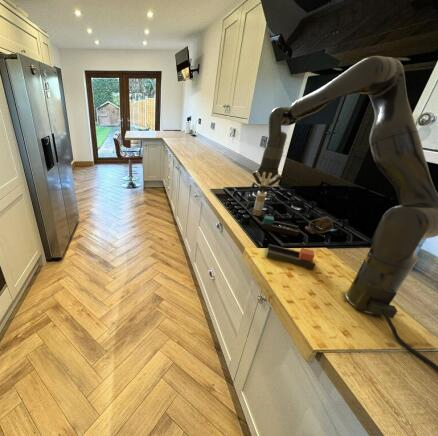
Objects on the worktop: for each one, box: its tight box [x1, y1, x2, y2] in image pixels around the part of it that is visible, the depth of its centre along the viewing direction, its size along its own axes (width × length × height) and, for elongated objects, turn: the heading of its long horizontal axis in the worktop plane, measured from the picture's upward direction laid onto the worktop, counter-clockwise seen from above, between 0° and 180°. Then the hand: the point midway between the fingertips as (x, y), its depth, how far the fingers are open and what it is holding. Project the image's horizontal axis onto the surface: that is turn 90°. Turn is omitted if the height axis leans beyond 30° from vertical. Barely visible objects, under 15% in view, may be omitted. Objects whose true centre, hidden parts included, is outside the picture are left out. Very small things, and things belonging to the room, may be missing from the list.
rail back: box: [260, 218, 300, 238], centre depth 115 cm, size 7×16×3 cm, turn 62°
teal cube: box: [262, 215, 275, 225], centre depth 117 cm, size 4×4×4 cm
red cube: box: [299, 247, 315, 262], centre depth 90 cm, size 4×4×4 cm
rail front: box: [265, 243, 316, 271], centre depth 93 cm, size 7×16×3 cm, turn 62°
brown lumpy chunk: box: [304, 216, 335, 235], centre depth 115 cm, size 7×13×10 cm
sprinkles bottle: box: [252, 190, 268, 217], centre depth 129 cm, size 5×5×13 cm
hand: (261, 193), depth 112 cm, fingers closed
